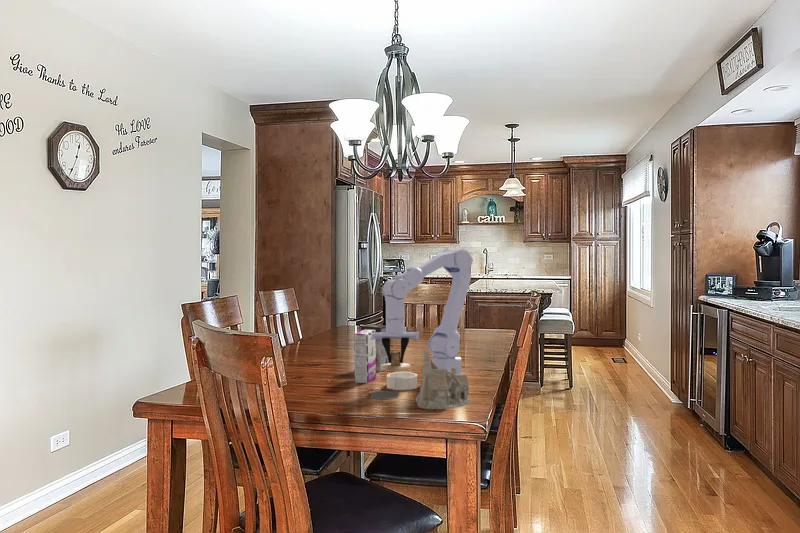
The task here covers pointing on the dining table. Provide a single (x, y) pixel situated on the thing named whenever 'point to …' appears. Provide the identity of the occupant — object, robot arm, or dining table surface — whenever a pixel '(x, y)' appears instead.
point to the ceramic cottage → (441, 387)
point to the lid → (395, 363)
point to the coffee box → (378, 345)
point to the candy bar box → (364, 356)
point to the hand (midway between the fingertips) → (395, 362)
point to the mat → (384, 395)
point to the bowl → (401, 381)
